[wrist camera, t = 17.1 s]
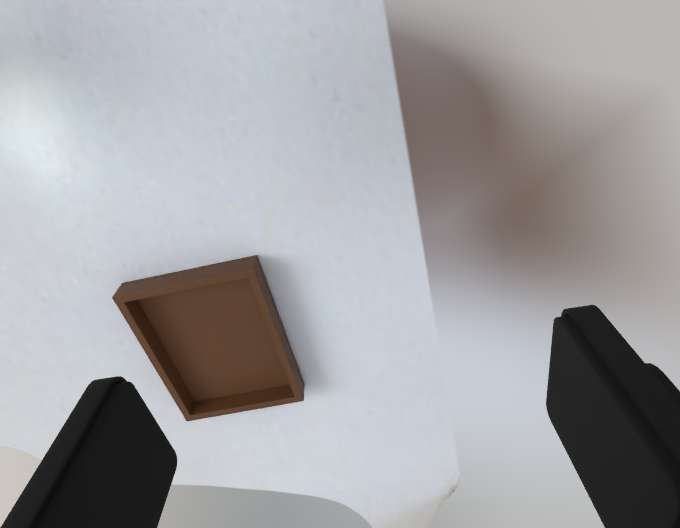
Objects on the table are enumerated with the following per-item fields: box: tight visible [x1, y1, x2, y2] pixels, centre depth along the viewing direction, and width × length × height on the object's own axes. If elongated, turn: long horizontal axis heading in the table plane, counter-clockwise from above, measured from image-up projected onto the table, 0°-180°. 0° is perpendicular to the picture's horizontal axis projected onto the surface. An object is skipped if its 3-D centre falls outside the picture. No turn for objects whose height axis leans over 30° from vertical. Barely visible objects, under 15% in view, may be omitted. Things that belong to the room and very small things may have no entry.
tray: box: [112, 255, 304, 421], centre depth 45 cm, size 18×14×2 cm
